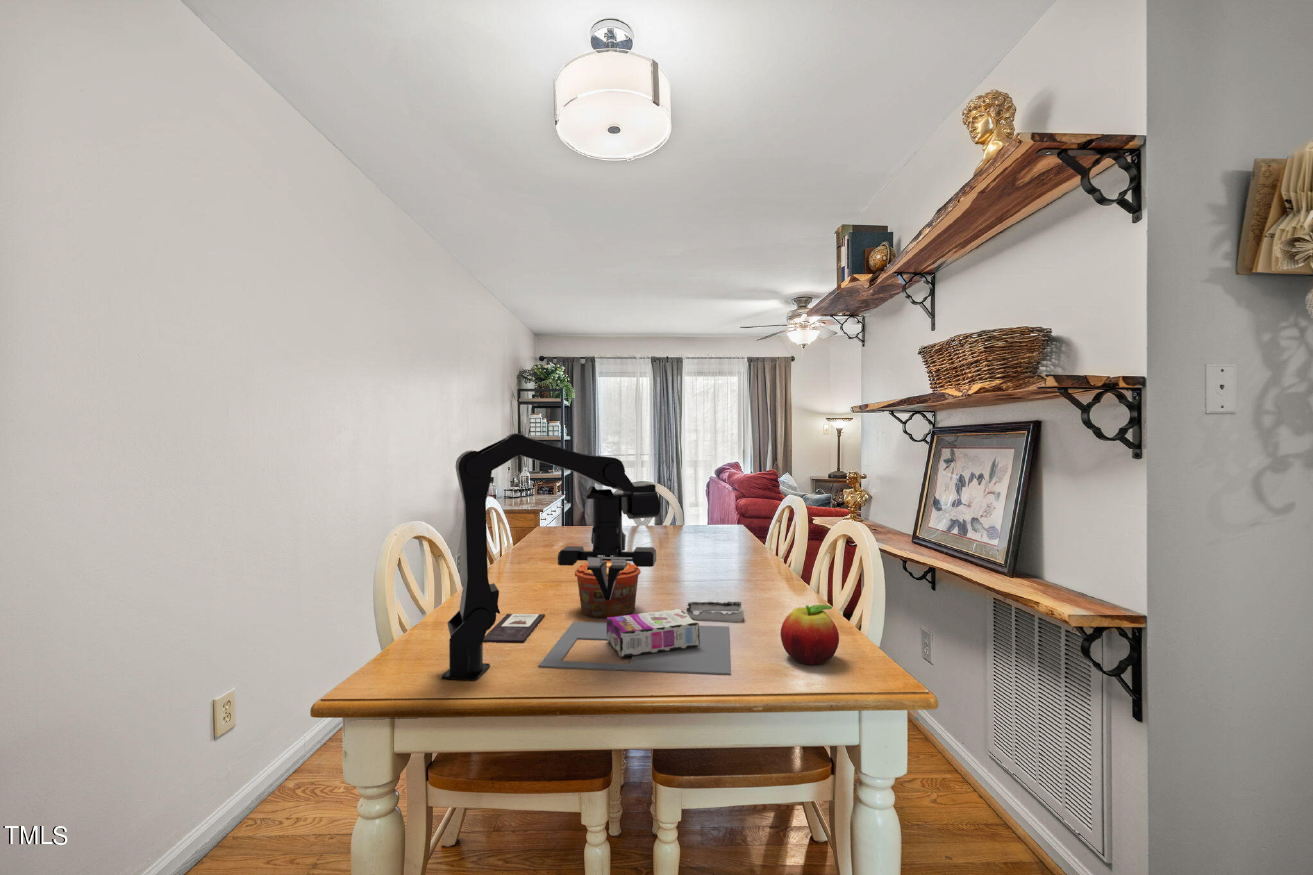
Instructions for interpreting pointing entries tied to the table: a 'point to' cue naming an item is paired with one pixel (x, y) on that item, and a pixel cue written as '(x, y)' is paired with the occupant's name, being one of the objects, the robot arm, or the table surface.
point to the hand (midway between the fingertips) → (607, 599)
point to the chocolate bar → (514, 628)
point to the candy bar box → (652, 632)
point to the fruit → (810, 635)
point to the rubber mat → (699, 659)
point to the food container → (620, 598)
